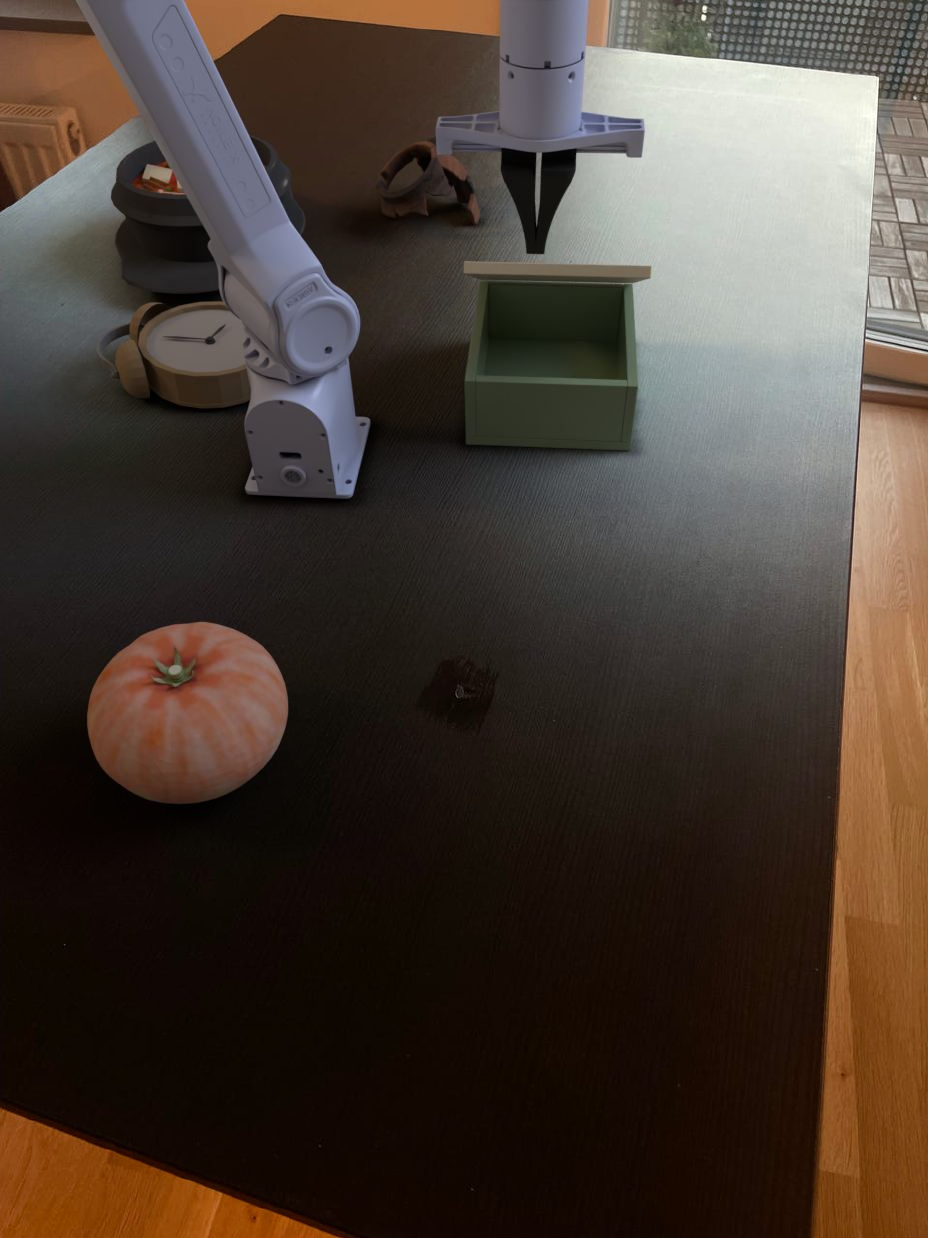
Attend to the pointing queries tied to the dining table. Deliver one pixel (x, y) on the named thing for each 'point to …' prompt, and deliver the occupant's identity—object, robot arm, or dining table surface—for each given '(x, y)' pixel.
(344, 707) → the dining table surface
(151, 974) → the dining table surface
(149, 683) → the tomato
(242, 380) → the alarm clock
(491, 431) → the open box
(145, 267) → the casserole
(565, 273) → the box lid
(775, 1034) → the dining table surface
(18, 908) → the dining table surface
